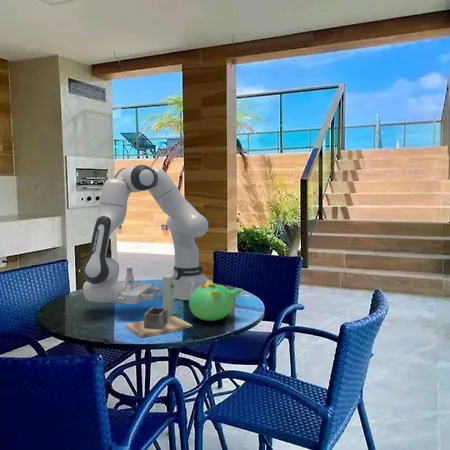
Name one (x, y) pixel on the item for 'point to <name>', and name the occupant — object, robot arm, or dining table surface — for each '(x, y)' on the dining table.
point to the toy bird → (212, 301)
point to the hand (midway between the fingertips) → (157, 294)
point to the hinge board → (152, 332)
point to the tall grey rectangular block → (168, 293)
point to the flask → (129, 275)
